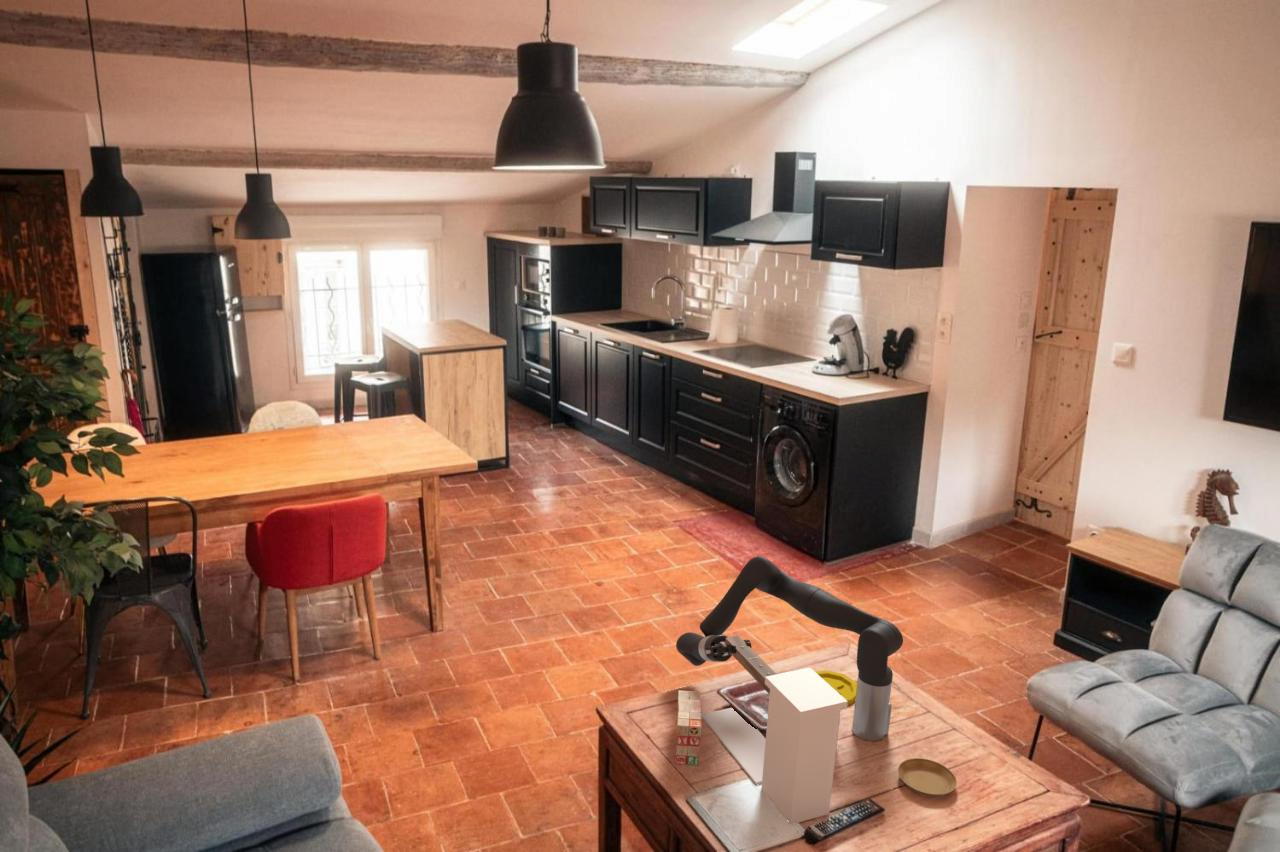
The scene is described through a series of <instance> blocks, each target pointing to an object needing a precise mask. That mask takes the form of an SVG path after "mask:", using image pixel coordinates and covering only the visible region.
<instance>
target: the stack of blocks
mask: <svg viewBox="0 0 1280 852" xmlns="http://www.w3.org/2000/svg"><path fill="white" fill-rule="evenodd" d="M677 693H678V695H677V715H676V716H677V717H676V744H675V745H676V746H675V759H674V760H675V761H674V764H675V765H679V766H693V767H698V766H699V761H700V745H701V733H702V718H701V714H702V707H701V705H702V704H701V703H702V702H701V697H700V695H701V694H700V693H701V692H700V691H697V690H696V691H694V690H693V691H692V690H679V689H678V692H677Z"/></svg>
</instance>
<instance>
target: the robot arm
mask: <svg viewBox="0 0 1280 852" xmlns="http://www.w3.org/2000/svg"><path fill="white" fill-rule="evenodd" d="M755 589H756V590H758V591H760V592H763V593H766V594H768V595H771V596H773V597H775V598H778V599H779V600H782V601H784V602H785V603H787V604H788V605H790V606H791V607H792V608H794V610H796V611H797V612H799V613H800V614H802V615H803V616H804V617H806V618H809V620H810V619H811V620H812V621H814V622H816V624H817V623H818V625H819V624H820V625H821V626H825V627H829V628H833V629H838V630H843V631H849V632H852V633H854V634H855V633H856V634H857V635H859V637H858V641H857V649H856V651H857V652H856V668H857V671H858V673H857V674H858V675H857V681H856V683H857V690H856V699H855V701H854V709H853V717H852V718H853V719H852V727H851V729H852V733H853V734H854V735H856V737H858V738H860V739H863V740H865V741H869V742H877V741H880V740H883V739H884V738H885V736H886V735H888V734H889V731H890V723H891V713H892V703H891V702H890V701H891V691H892V684H893V676H894V672H893V670H892V668H891V667H890V666H888V662H889V661H888V659H889V657H890V656H892V655H893V654H895V653H896V652H897V651H899V650H900V648H901V647H902V645H903V643H904V637H903V634H902V632H901V630H900V629H899V628H898V627H897V626H896V625H895V624H893V623H892V622H890V621H889V620H886V619H883V618H882V617H879V616H876V615H874V614H872V613H869V612H867V611H864V610H862V609H860V608H858V607H856V606H854V605H852V604H850V603H848V602H846V601H844V600H842V599H841V598H838V597H837V596H835V595H834V594H832V593H830V592H827V591H826V590H824V589H822V588H820V587H818V586H815V585H814V584H813V585H812V584H810V583H807V582H802V581H800V580H798V579H795V578H794V577H792V576H791V575H789V574H787V573H786V572H784V571H783V570H781V569H780V568H779V567H778V566H777V565H775V564H774V563H773V562H772V561H770V560H769V559H768V558H766V557H765V556H761V555H759V556H758V555H757V556H753V557H752V558H750V559H749V560H748V561H747V562H746V563H745V564H744V566H743V568H742V569H741V570H740V573H739V574H738V575H737V577H736V579H735V580H734V581H733V583H732V584H731V586H730V588H729V589H728V590H727V592H725V595H724V596H723V597H722V598H721V600H720V601H719V602H718V604H717V605H716V606H715V607H714V608H713V609H711V611H710V612H709V614H708V615H706V617H705V618H704V619H703V620H702V621H701V622H700V624H699V630H700V632H701V633H702V634H703V635H704V636H703V635H700V634H697V633H696V632H692V631H691V632H685V633H683V634H681V635H680V636H679V637H678V639H677V640H676V643H675V646H676V650H677V652H678V654H680V655H681V656H682V657H683V658H685V659H686V660H687V661H688V662H689V663H690V664H692V665H693V666H695V667H699V666H701V665H703V664H704V663H706V662H711V663H713V662H716V663H717V662H718V663H720V662H722V663H723V662H727V661H728V660H730V659H731V658H732V657H733V655H732V654H731V653H736V646H735V645H726V644H725V640H726V638H728V637H729V636H727V635H725V634H724V633H725V632H726V631H727V629H729V628H730V626H731V625H732V623H733V622H734V621H735V619H736V617H737V615H738V613H739V611H740V609H741V607H742V604H743V603H744V601H745V599H746V598H748V596H749V594H751V593H752V592H753V591H754V590H755ZM742 640H743V641H744V642H745V643H746V644H747V645H748V646H749V647H750V648H751V649H753V648H752V642H751V640H749V639H742Z"/></svg>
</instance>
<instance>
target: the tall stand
mask: <svg viewBox="0 0 1280 852" xmlns="http://www.w3.org/2000/svg"><path fill="white" fill-rule="evenodd" d="M765 685H766V686H767V687H768V688H769V689H770V694H769V697H768V698H769V699H768V707H767V709H768V710H767V720H766V733H765V738H766V742H765V754H764V765H763V777H762V783H761V790H762V792H763V793H764V794H765V796H767V797H768V799H769V800H770V801H771V803H772V804H773V803H774V804H773V805H774V806H775V807H776V809H777V810H778V811H779V812H780V813H781V814H782V816H783V817H784V818H785V819H786V821H787V820H788V821H789V822H790V823H789V822H788V821H787V822H788V823H789V824H790V825H791V824H792V825H795V824H799V823H801V822H806V821H809V820H812V819H813V820H814V819H816V818H820V817H823V816H827V815H829V814H830V811H831V810H830V807H831V798H832V791H833V782H834V781H833V780H834V772H835V763H836V755H837V753H836V752H837V745H838V744H837V743H838V738H839V737H838V735H839V726H840V717H841V712H842V711H843V710H846V709H848V705H847V703H848V701H847V700H846V699H845V698H844V697H842V696H841V695H840V694H839V693H838V692H837V691H836V690H835V689H833V688H832V687H831V686H830V685H829V684H828V683H827V682H826V681H825V680H823V679H822V678H821V677H820V676H819V675H818V674H817V673H816V672H815V670H814V669H813V668H811V667H806V668H802V669H801V668H800V669H796V670H792V671H786V672H782V673H776V675H771V676H766V677H765ZM794 823H795V824H794Z"/></svg>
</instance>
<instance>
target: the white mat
mask: <svg viewBox="0 0 1280 852" xmlns="http://www.w3.org/2000/svg"><path fill="white" fill-rule="evenodd" d="M701 720H703V722H704V723H705V724H706V725H707V726H708V728H709V729H710V730H711V731H712V733H713V734H714V735H715V737H717V739H718V740H719V742H721V743H722V746H724V747H725V748H726V750H727V751H728V752H729V753H730V754H731V756H732V758H733V759H735V761H736V762H737V763H738V764H739V766H740V767H741V768H742V770H744V772H745V773H746V775H748V777H749V778H750V779H751V780H752V782H753V781H754V782H755V783H756V784H755V783H754V782H753V783H754V784H755V785H760V784H762V777H763V765H764V754H765V742H766V736H764V734H763V733H761V732H760V730H759V729H758V728H757V729H755V728H754V727H752V726H751V725H750V724H748V723H747V722H746V721H745V720H744V719H743V718H742V717H741V716H740V715H739V714H738V713H737V712H736V711H734V709H733V708H732V707H729V708H723V709H720V710H716V711H710V712H707V713H701Z"/></svg>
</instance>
